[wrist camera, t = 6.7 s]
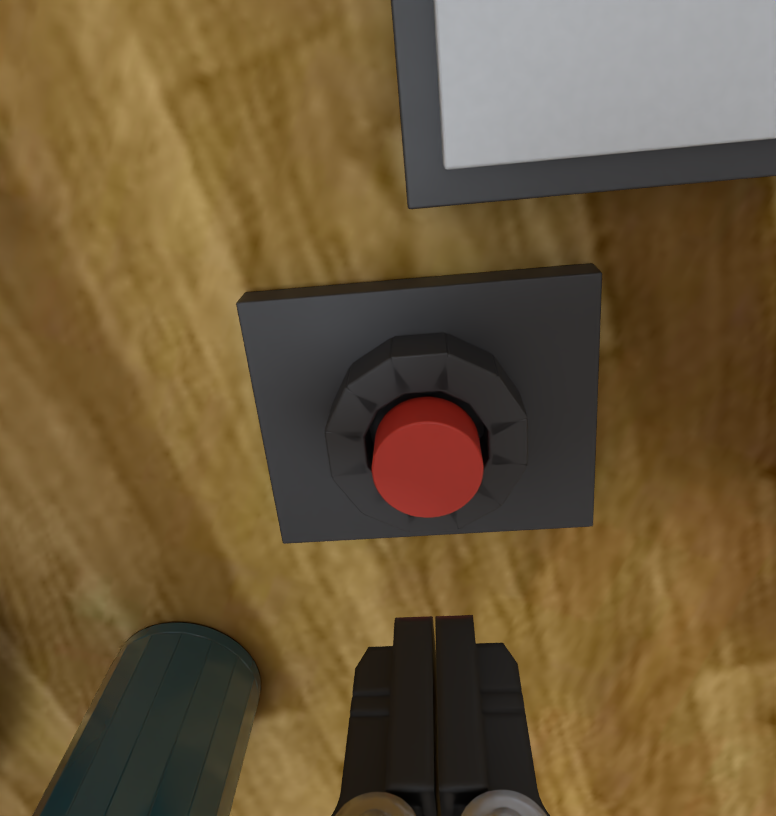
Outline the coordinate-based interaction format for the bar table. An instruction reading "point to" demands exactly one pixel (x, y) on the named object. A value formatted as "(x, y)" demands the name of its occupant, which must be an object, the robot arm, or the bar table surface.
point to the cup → (161, 729)
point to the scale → (582, 95)
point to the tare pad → (429, 394)
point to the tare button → (427, 457)
